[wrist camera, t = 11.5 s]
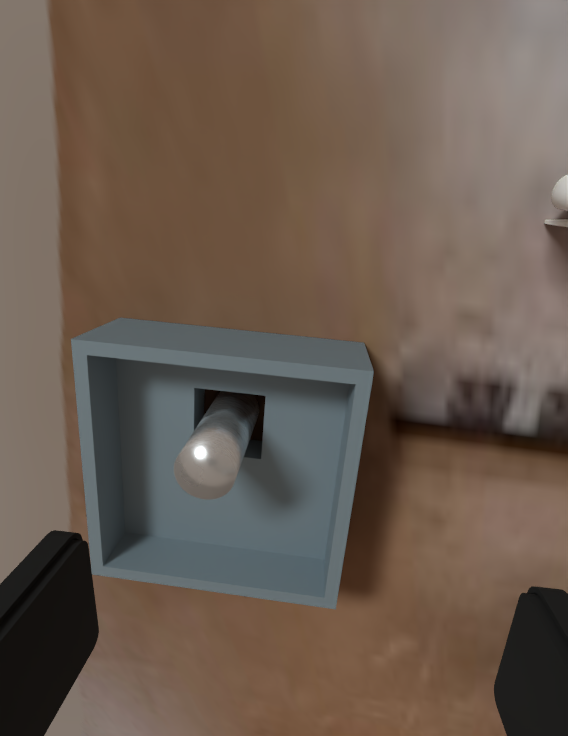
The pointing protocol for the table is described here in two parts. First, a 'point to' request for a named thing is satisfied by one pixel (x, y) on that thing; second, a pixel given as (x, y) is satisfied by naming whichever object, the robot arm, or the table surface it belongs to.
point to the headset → (560, 200)
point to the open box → (258, 468)
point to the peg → (217, 446)
